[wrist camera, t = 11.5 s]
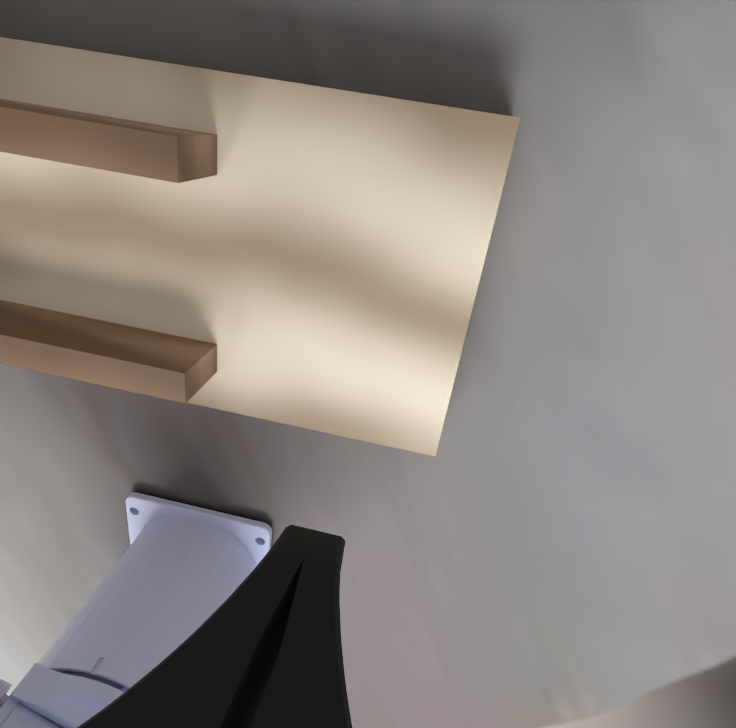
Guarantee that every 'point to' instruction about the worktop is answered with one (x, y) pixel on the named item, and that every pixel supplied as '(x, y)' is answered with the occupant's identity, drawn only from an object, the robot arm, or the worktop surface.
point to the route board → (242, 239)
